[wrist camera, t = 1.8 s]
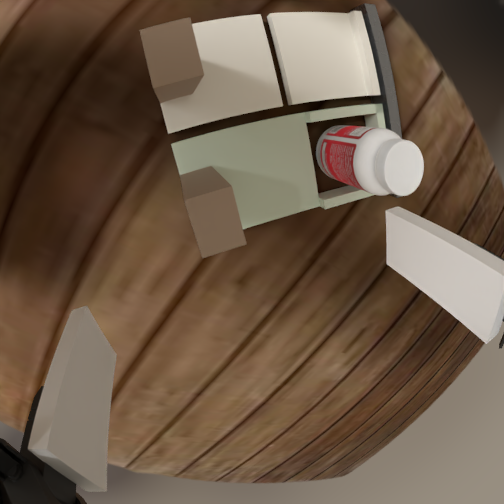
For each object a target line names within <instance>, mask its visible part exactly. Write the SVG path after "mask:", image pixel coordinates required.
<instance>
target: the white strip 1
mask: <svg viewBox="0 0 504 504" xmlns="http://www.w3.org/2000/svg"><path fill="white" fill-rule="evenodd" d="M140 34H141V39H142V43H143V48H144V52H145V57H146V61H147V65H148V70H149V74H150V78H151V82H152V86H153V89H154V92H155V94H156V96H157V98H158V100H159V102H160V104H161V108H162V112H163V116H164V120H165V124H166V127H167V131H168V134H170V133H173V132H176V131H180V130H183V129H186V128H190V127H194V126H197V125H201V124H205V123H208V122H212V121H216V120H220V119H224V118H228V117H233V116H237V115H241V114H246V113H251V112H255V111H260V110H265V109H271V108H276V107H282V106H283V103H282V98H281V94H280V89H279V85H278V81H277V76H276V72H275V68H274V64H273V60H272V56H271V52H270V48H269V44H268V40H267V36H266V32H265V28H264V25H263V21H262V17H261V14H256V15H246V16H238V17H230V18H223V19H217V20H211V21H206V22H200V23H195V24H192V23H191V19H190V17H189V18H185V19H180V20H176V21H172V22H167V23H164V24H160V25H156V26H152V27H149V28H145V29H142V30H140Z"/></svg>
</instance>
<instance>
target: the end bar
mask: <svg viewBox="0 0 504 504" xmlns="http://www.w3.org/2000/svg"><path fill="white" fill-rule="evenodd" d="M352 11H361V12H362V16H363V19H364V23H365V26H366V30H367V34H368V38H369V42H370V46H371V50H372V54H373V58H374V63H375V68H376V73H377V78H378V83H379V88H380V94H381V95H370V98H371V104H382V106H383V112H384V119H385V126H386V129H389V130H391V131H393V132H395V133H396V134H397V135H399V136H400V138H401V139H402V134H401V125H400V118H399V110H398V104H397V97H396V91H395V85H394V80H393V75H392V70H391V65H390V60H389V55H388V51H387V47H386V43H385V39H384V35H383V31H382V27H381V24H380V20H379V16H378V13H377V10H376V6H375V5H373V4H365V3H364V4H362V5H360V6H358V7H356V8H354V9H351V10H350V12H352ZM389 195H391V196H394V197H396V198H398V197H401V196H399V195H395V194H392V193H391V194H389Z"/></svg>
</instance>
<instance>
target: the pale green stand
mask: <svg viewBox="0 0 504 504" xmlns="http://www.w3.org/2000/svg"><path fill="white" fill-rule="evenodd" d="M357 115H364V117H365V123H366V127H375V128H384V129H386V126H385V119H384V112H383V106H382V104H362V105H353V106H344V107H336V108H329V109H322V110H315V111H308V112H302V113H296V114H291V115H285V116H280V117H275V118H270V119H265V120H260V121H255V122H251V123H246V124H242V125H238V126H233V127H229V128H225V129H221V130H217V131H214V132H210V133H206V134H202V135H199V136H195V137H192V138H188V139H185V140H182V141H178V142H175V143H172V144H171V146H172V149H173V153H174V156H175V160H176V164H177V167H178V171H179V174H180V179H181V185H182V191H183V197H184V202H185V205H186V208H187V212H188V215H189V218H190V221H191V224H192V228H193V231H194V234H195V237H196V240H197V243H198V246H199V249H200V252H201V256H202V258H205V257H208V256H211V255H215V254H218V253H221V252H224V251H227V250H230V249H233V248H237V247H240V246H243V245H246V240H245V236H244V232H243V229H246V228H249V227H252V226H255V225H259V224H262V223H265V222H269V221H272V220H275V219H279V218H282V217H285V216H289V215H292V214H295V213H299V212H302V211H305V210H309V209H312V208H316V207H319V206H320V207H322V208H324V209H328V208H331V207H335V206H338V205H342V204H345V203H348V202H352V201H355V200H359V199H362V198H366V197H369V196H373V195H374V194H371V193H368V192H366V191H364V190H361V189H358V188H356V187H353V186H351V185H348V186H344V187H341V188H337V189H333V190H329V191H326V192H322V193H318V189H317V183H316V176H315V170H314V164H313V158H312V152H311V147H310V141H309V136H308V130H307V125H306V122H317V121H323V120H329V119H336V118H343V117H350V116H357Z"/></svg>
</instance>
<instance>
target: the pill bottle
mask: <svg viewBox="0 0 504 504" xmlns="http://www.w3.org/2000/svg"><path fill="white" fill-rule="evenodd" d="M316 159H317V162H318V165H319V167H320V168H321V170H322V171H323V172H324V173H325V174H326V175H327V176H329V177H330V178H333V179H335V180H338V181H340V182H343V183H346V184H348V185H351V186H353V187H356V188H358V189H361V190H364V191H366V192H368V193H371V194H374V195H388V194H391V193H392V194H395V195H399V196H406V195H409V194H411V193H412V192H414V191H415V190H416V189H417V187H418V186H419V184H420V182H421V180H422V176H423V171H424V162H423V157H422V154H421V152H420V150H419V148H418V147H417V146H416V145H415V144H414V143H413V142H411V141H408V140H403V139H401V138H400V136H399V135H397V134H396V133H395V132H393V131H391V130H389V129H384V128H375V127H363V126H348V125H337V126H333V127H331V128H329V129H327V130H326V131H325V132H324V133H323V134H322V135H321V137H320V138H319V140H318V143H317V147H316Z"/></svg>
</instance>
